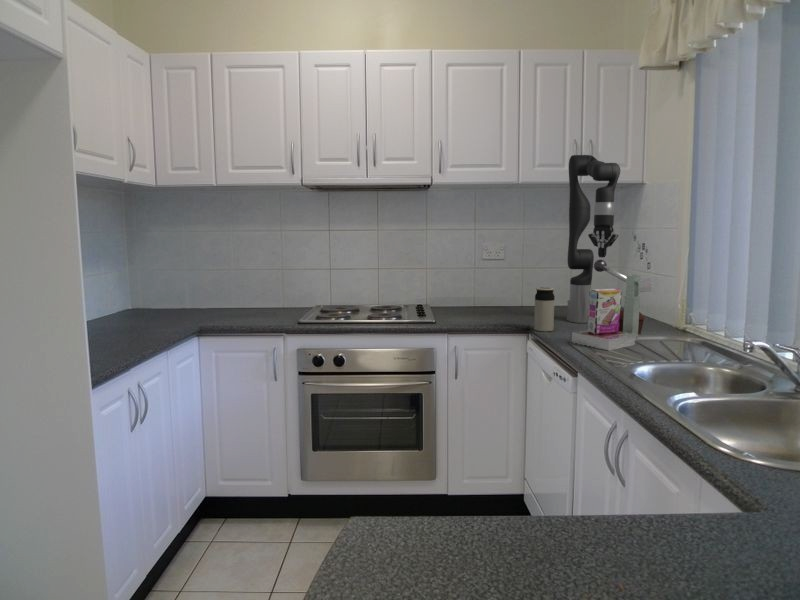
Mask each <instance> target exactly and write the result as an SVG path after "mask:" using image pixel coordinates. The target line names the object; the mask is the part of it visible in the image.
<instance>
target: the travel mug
mask: <svg viewBox="0 0 800 600" xmlns="http://www.w3.org/2000/svg"><path fill="white" fill-rule="evenodd" d="M535 290H536V293H535V295H534V318H533V319H534V321H533V324H534V327H533V329H534V331H537V332H541V333H542V332H543V333H544V332H546V333H548V332H547V331H550V332H553V331H554V328H555V327H554V326H555V325H554V324H555V323H554V322H555V321H554V319H555V297H556V296H555V294H554V290H555V288H554V287H548V286H547V287H545V286H538V287H536V288H535Z"/></svg>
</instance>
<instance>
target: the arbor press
mask: <svg viewBox="0 0 800 600" xmlns="http://www.w3.org/2000/svg"><path fill="white" fill-rule="evenodd" d="M638 279H641V275H640V274H639V275H637V274H632V275H629V274H627V275H626V282H625V295H624V300H623V302H624V303H623V305H624V306H623V309H624V319H623V332H619V333H608V334H596V335H595V334H591V333H588V332H587V329H584V330H579V331H578V330H577V331H573V332H571V343H572V342H574V343H573V344H575V343H578V344H577V345H580V344H582V345H581V346H584V345H587V346H586V347H589V346H591V347H590V348H594V347H595V348H594V349H598V350H599V349H600V350H604V351H613V350H617V349H622V348H627V347H631V346H634V345H635V344H636V343H635V341H636V340H638V339H639V335H638V325H639V312H640V305H641V302H640V301H641V296H640V292H639V284H638Z"/></svg>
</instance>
